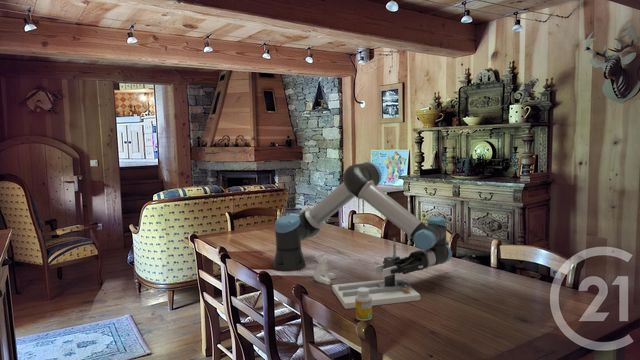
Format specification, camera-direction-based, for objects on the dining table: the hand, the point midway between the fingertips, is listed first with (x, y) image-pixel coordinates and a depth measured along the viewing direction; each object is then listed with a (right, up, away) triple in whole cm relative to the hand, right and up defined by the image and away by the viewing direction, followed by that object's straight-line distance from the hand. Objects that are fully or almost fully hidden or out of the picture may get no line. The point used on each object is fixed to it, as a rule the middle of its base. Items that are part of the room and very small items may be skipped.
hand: (379, 271), depth 164 cm
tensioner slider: (+7, -7, +2) cm, 10 cm away
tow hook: (+13, -5, +42) cm, 45 cm away
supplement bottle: (-7, -12, -18) cm, 22 cm away
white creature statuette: (-20, -9, +21) cm, 31 cm away
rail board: (-1, -9, +3) cm, 10 cm away
